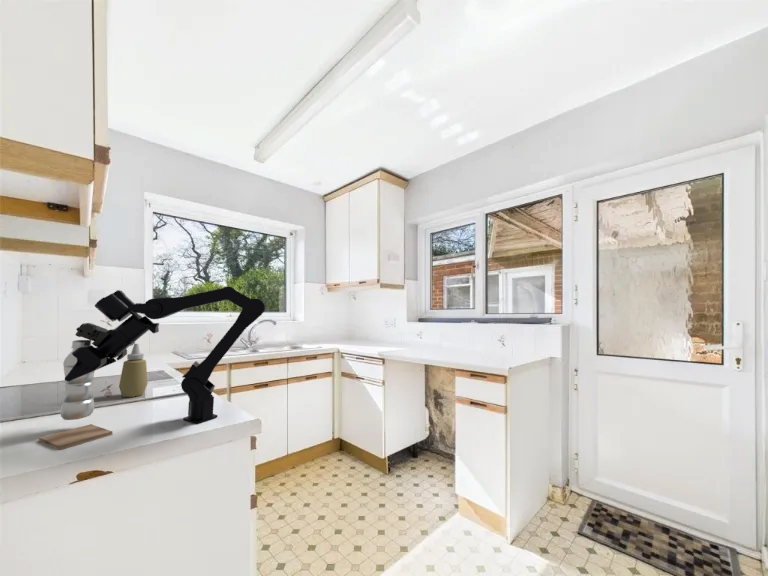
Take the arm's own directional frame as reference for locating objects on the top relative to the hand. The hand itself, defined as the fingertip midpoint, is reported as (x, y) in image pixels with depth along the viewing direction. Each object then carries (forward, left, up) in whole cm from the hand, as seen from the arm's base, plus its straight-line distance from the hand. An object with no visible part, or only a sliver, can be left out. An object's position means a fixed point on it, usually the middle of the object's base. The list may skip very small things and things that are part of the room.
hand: (72, 377), depth 85 cm
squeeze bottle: (+20, -26, -13) cm, 35 cm away
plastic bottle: (-1, -1, -11) cm, 11 cm away
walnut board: (-8, +1, -13) cm, 15 cm away
